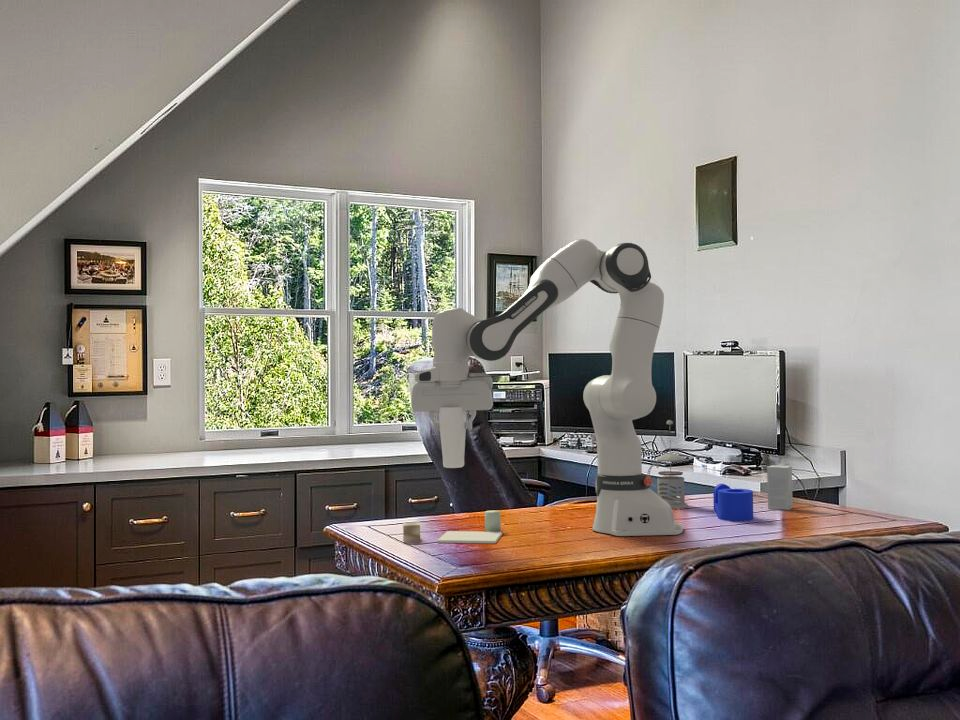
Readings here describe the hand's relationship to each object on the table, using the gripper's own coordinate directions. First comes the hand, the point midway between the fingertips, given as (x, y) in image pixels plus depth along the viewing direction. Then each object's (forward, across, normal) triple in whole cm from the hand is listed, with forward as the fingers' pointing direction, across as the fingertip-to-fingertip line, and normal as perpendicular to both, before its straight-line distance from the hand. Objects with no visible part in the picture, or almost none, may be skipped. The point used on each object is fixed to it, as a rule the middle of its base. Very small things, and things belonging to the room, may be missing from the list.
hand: (453, 429), depth 237 cm
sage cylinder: (+27, -8, -6) cm, 29 cm away
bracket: (+28, -69, -36) cm, 83 cm away
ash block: (+26, +10, +7) cm, 29 cm away
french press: (+28, -53, -52) cm, 79 cm away
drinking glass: (+10, 0, 0) cm, 10 cm away
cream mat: (+26, -4, +4) cm, 27 cm away
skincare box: (+28, -84, -48) cm, 101 cm away
